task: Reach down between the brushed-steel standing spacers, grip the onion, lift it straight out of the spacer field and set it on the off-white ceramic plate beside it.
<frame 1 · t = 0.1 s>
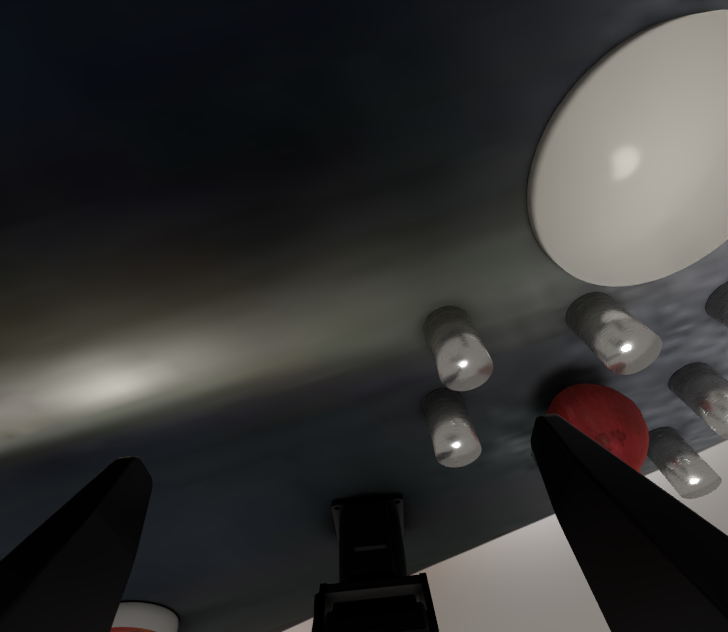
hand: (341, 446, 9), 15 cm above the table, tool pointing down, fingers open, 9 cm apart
spacer field: (566, 390, 29), on the table
plate: (648, 168, 20), on the table
onion: (564, 388, 29), on the table
fruit juice: (139, 615, 44), on the table
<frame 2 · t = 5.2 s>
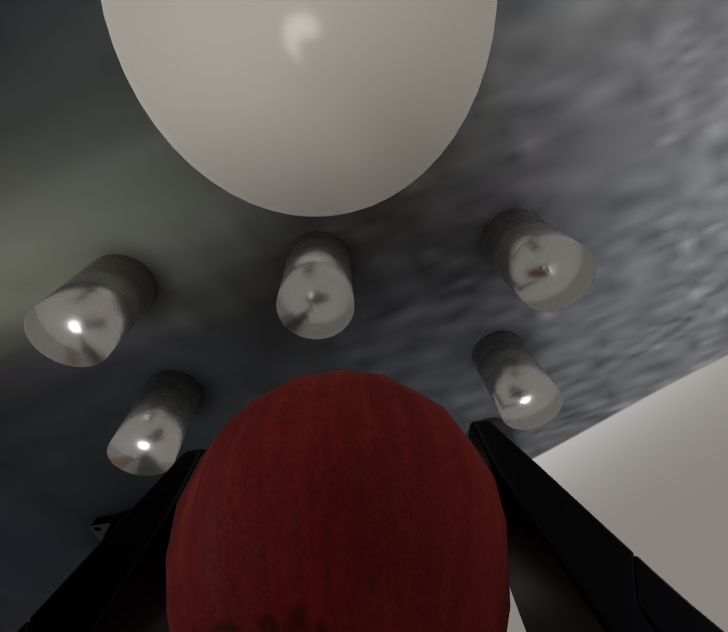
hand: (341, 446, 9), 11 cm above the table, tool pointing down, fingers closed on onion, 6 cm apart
spacer field: (337, 371, 22), on the table
plate: (308, 30, 14), on the table
onion: (340, 386, 10), point 9 cm above the table, touching gripper
when the fingers open (4 cm above the table, at t = 7.7 s): onion drops 1 cm, resting on plate.
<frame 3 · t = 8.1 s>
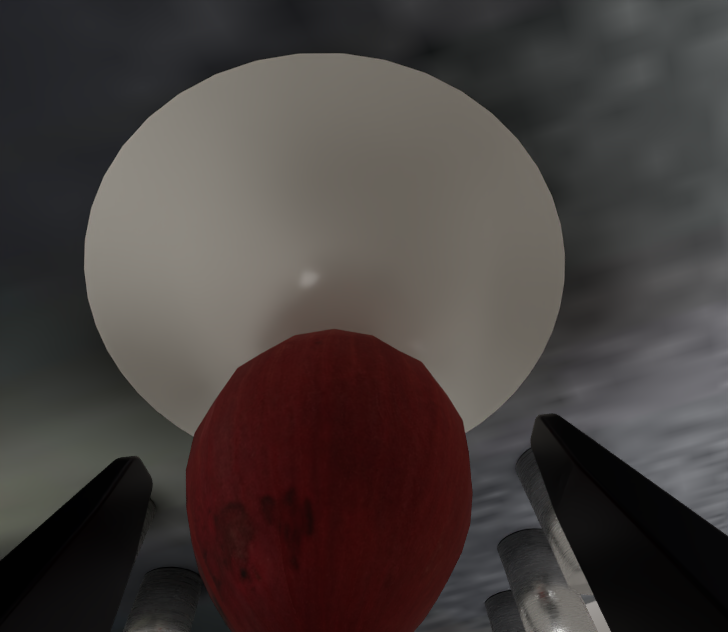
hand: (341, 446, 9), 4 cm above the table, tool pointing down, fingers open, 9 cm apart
spacer field: (350, 563, 20), on the table
plate: (335, 307, 12), on the table
onion: (338, 355, 12), point 1 cm above the table, touching plate
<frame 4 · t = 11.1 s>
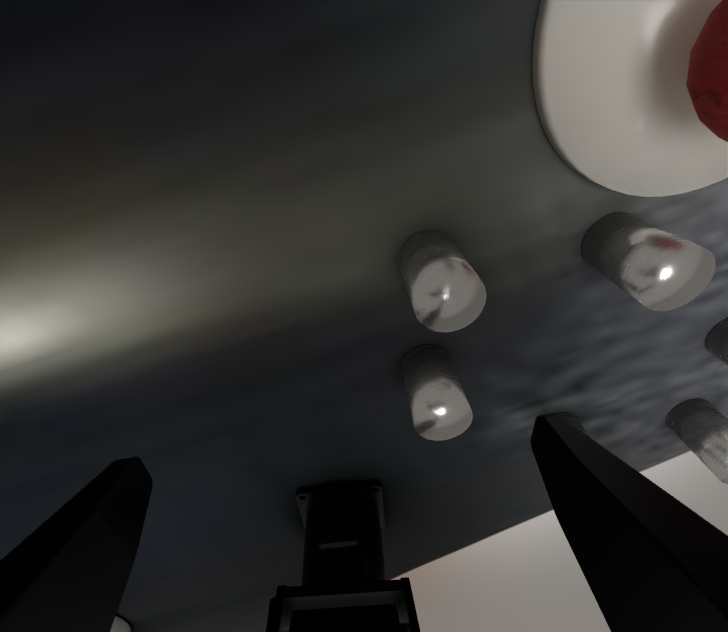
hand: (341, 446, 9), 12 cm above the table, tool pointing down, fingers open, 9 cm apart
spacer field: (579, 349, 23), on the table
plate: (699, 19, 15), on the table
onion: (707, 51, 15), point 1 cm above the table, touching plate
fruit juice: (85, 623, 39), on the table
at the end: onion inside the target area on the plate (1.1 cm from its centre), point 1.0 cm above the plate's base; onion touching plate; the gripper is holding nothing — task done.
